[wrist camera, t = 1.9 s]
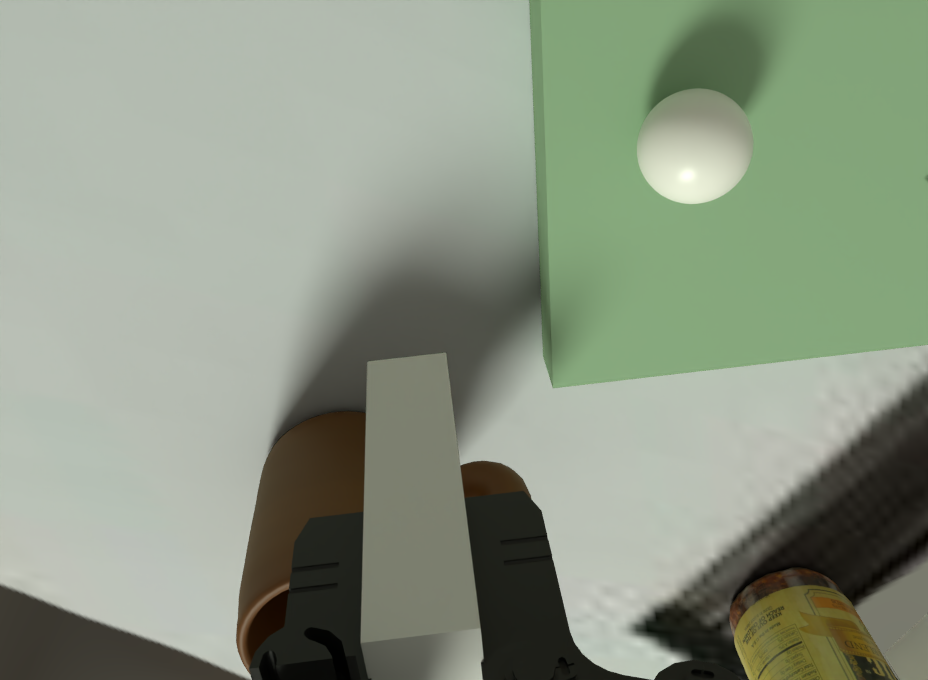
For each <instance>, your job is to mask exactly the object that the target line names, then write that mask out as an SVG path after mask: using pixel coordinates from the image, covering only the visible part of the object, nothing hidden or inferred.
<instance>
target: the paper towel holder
mask: <svg viewBox="0 0 928 680" xmlns="http://www.w3.org/2000/svg"><path fill="white" fill-rule="evenodd" d="M884 655H885V657H886V658H887V660H888V662H889V663H890V665H891V667H892V668H893V670H894V672H895V673H896V675H897V677H898V678H899V680H928V613H927V614H926V615H925V616H924V617H923V618H922V619H921V620H919V621H918V622H917V623H916V624H915V625H914V626H913V627H912V628H911V629H910V630H909V631H908V632H906V633H905V634H904V635H903V636H902V637H901V638H900V639H899V640H898V641H897V642H896V643H894V644H893V646H891V647H890V648H889V649H888V650H887V651H886V652H885V653H884Z"/></svg>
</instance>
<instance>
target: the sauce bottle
mask: <svg viewBox="0 0 928 680" xmlns="http://www.w3.org/2000/svg"><path fill="white" fill-rule="evenodd" d="M729 620H730V625H731V630H732V633H733V635H734V641H735V647H736V649H737V652H738V654H739V657H740V659H741V661H742V664H743V666H744V669H745V671H746V673H747V676H748V678H749V680H898V679H897V678H896V677H895V676H894V674H893V672H892V670H891V669H890V667H889V665H888V664H887V662H886V660H885V659H884V657H883V656H882V654H881V652H880V651H879V649H878V647H877V645H876V644H875V642H874V640H873V638H872V637H871V635H870V634H869V632H868V630H867V629H866V627H865V625H864V624H863V622H862V620H861V619H860V617H859V615H858V614H857V612H856V610H855V609H854V607H853V605H852V604H851V602H850V601H849V600H848V599H847V598H846V597H845V596H844V595H843V593H842V591H841V590H840V589H839V587H838V586H837V585H836V583H835V582H833V581H832V580H830V579H829V578H828V577H826V576H824V575H823V574H820V573H818V572H814V571H811V570H810V569H806V568H802V567H796V568H792V567H791V568H789V569H786V570H784V571H778V572H774V573H770V574H767V575H765V576H763V577H762V578H760V579H757V580H755V581H753V582H752V583H751V584H750V585H748V586H746V587H745V589H744V590H743V591H742V592H741V593H739V594H738V595H737V597H736V599H735V601H734V602H733V603H732V605H731V606H730V617H729Z"/></svg>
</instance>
